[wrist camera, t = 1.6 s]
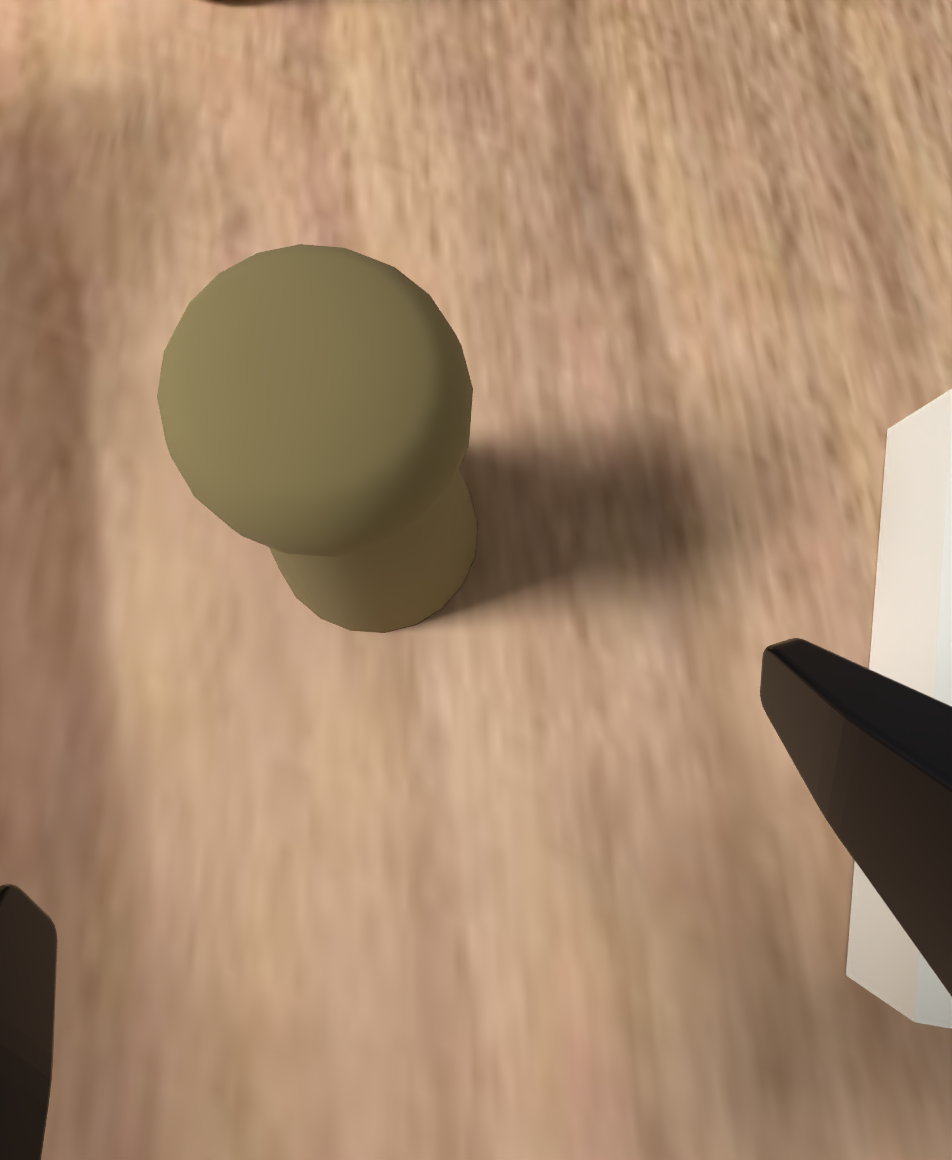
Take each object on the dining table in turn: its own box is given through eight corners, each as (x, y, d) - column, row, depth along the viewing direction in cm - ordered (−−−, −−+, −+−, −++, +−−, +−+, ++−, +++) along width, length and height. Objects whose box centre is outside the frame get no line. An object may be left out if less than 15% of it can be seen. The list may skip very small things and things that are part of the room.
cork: (233, 565, 21) (8, 421, 11) (345, 399, 22) (245, 111, 11) (409, 672, 21) (364, 638, 10) (515, 499, 22) (577, 298, 11)
